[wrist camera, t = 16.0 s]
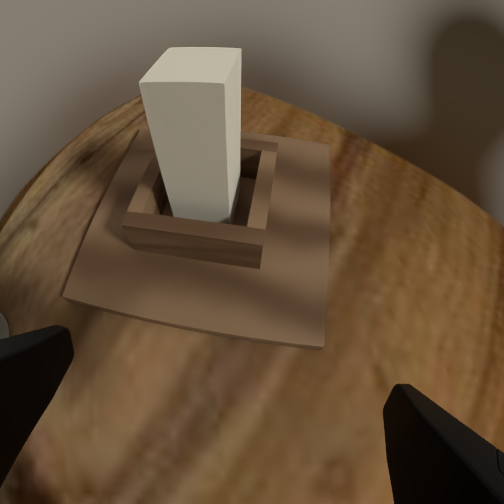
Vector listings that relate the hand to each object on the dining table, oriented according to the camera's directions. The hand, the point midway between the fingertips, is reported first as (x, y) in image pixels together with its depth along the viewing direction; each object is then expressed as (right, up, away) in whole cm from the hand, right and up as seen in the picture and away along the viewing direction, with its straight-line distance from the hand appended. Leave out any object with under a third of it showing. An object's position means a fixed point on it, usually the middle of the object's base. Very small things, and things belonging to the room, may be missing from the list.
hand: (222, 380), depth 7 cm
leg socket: (-3, +6, +19) cm, 20 cm away
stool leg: (-3, +7, +18) cm, 19 cm away
